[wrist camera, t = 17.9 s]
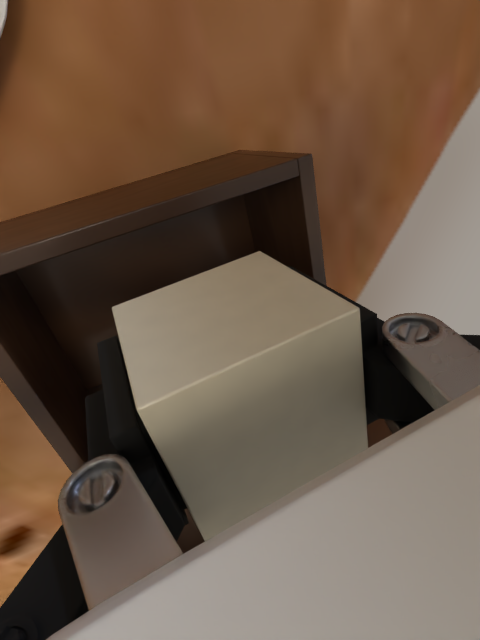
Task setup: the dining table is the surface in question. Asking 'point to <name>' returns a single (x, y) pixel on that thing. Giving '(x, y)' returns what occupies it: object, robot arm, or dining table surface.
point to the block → (245, 384)
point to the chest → (135, 268)
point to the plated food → (3, 14)
